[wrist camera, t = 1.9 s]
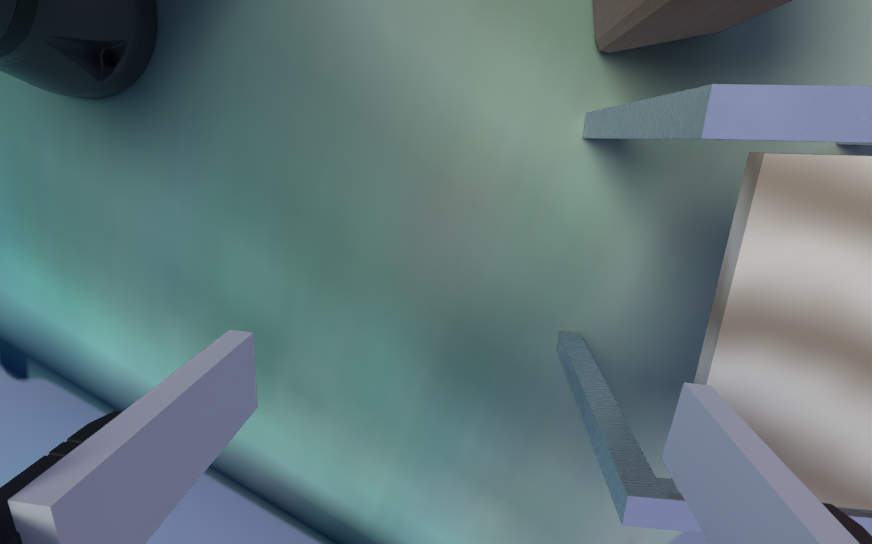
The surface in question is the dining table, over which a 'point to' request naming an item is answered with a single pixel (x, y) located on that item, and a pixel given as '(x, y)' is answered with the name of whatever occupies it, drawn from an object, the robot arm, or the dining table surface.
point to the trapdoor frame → (697, 119)
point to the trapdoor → (800, 318)
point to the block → (668, 20)
